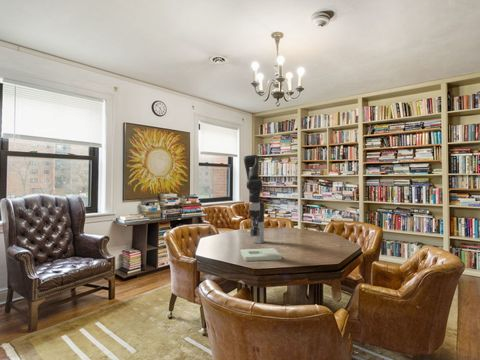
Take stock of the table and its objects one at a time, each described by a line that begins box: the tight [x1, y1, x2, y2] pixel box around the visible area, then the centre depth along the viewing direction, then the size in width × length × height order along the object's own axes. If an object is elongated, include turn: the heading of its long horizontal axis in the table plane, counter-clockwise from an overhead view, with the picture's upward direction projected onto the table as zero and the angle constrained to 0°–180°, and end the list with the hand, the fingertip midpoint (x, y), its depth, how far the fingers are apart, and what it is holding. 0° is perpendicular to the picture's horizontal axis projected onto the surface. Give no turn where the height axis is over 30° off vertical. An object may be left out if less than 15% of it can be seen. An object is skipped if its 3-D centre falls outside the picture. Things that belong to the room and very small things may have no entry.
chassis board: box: [240, 247, 283, 262], centre depth 189 cm, size 20×24×3 cm
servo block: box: [247, 227, 262, 238], centre depth 189 cm, size 4×9×6 cm, turn 98°
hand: (254, 234), depth 189 cm, fingers closed on servo block, 4 cm apart
